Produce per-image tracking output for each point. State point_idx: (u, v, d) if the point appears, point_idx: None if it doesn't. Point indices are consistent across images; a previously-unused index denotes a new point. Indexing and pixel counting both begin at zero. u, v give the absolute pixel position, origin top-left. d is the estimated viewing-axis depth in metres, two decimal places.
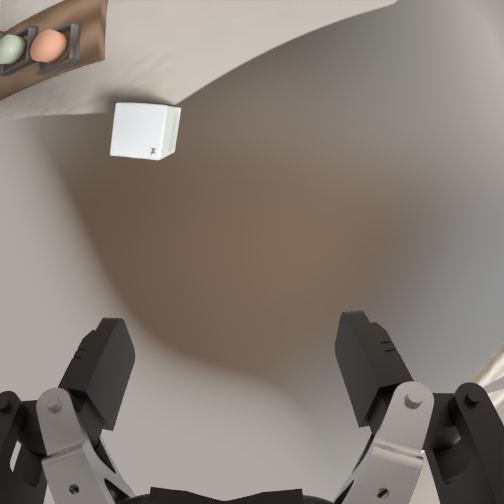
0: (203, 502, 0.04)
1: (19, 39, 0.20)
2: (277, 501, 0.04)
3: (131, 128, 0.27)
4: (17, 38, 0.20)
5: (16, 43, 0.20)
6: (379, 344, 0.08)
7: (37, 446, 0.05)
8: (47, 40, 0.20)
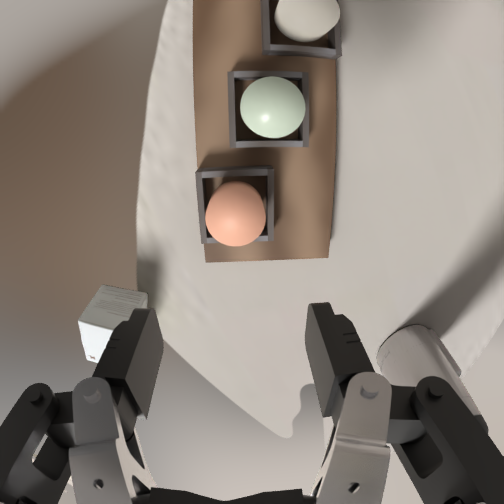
0: (203, 502, 0.04)
1: None
2: (276, 501, 0.04)
3: None
4: None
5: None
6: (341, 334, 0.08)
7: (69, 439, 0.06)
8: (240, 228, 0.22)
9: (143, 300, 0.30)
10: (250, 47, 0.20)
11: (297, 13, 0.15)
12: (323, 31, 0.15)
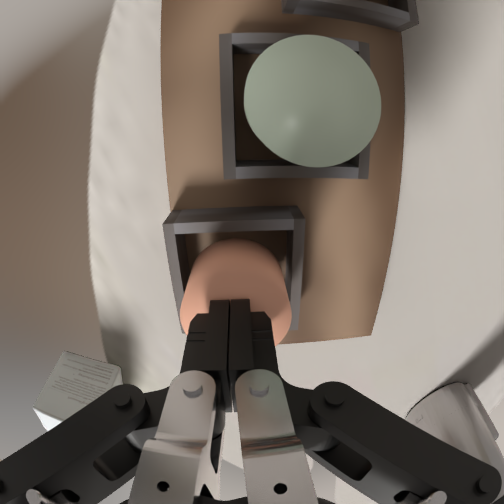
0: (203, 502, 0.04)
1: None
2: None
3: None
4: None
5: None
6: (249, 330, 0.09)
7: None
8: None
9: (114, 379, 0.20)
10: (261, 0, 0.10)
11: None
12: None
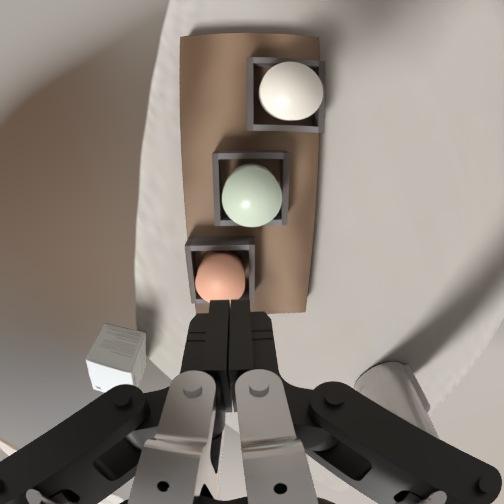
0: (203, 502, 0.04)
1: None
2: None
3: (111, 379, 0.29)
4: None
5: None
6: (249, 331, 0.09)
7: None
8: (224, 292, 0.26)
9: (142, 340, 0.34)
10: (235, 121, 0.23)
11: (279, 98, 0.18)
12: (304, 117, 0.19)
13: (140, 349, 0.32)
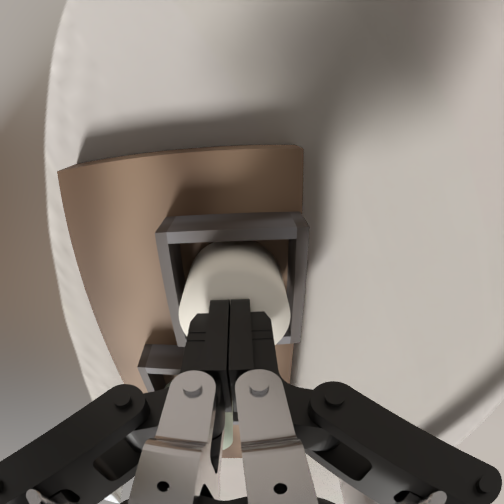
0: (203, 502, 0.04)
1: None
2: None
3: None
4: None
5: None
6: (249, 330, 0.09)
7: None
8: None
9: None
10: (165, 311, 0.16)
11: None
12: None
13: None
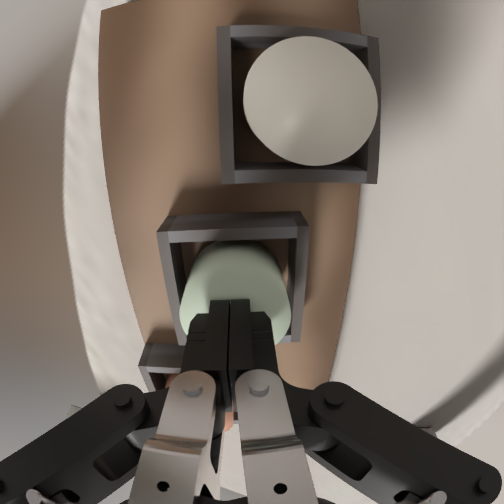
0: (203, 502, 0.04)
1: None
2: None
3: None
4: None
5: None
6: (249, 330, 0.09)
7: None
8: None
9: None
10: (202, 159, 0.12)
11: (285, 118, 0.08)
12: (339, 159, 0.09)
13: None
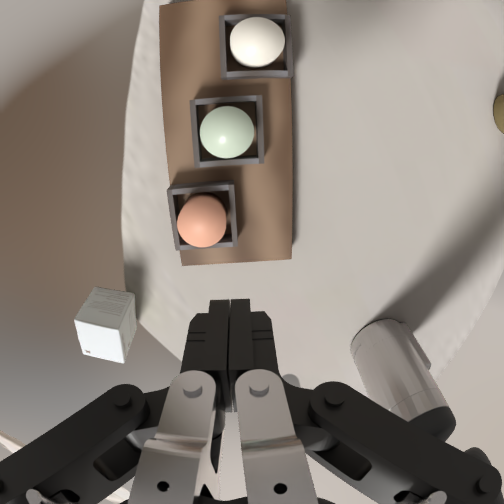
0: (203, 502, 0.04)
1: None
2: None
3: (99, 340, 0.30)
4: None
5: None
6: (249, 331, 0.09)
7: None
8: (205, 233, 0.26)
9: (130, 300, 0.34)
10: (211, 73, 0.23)
11: (246, 46, 0.19)
12: (269, 60, 0.20)
13: (128, 308, 0.33)
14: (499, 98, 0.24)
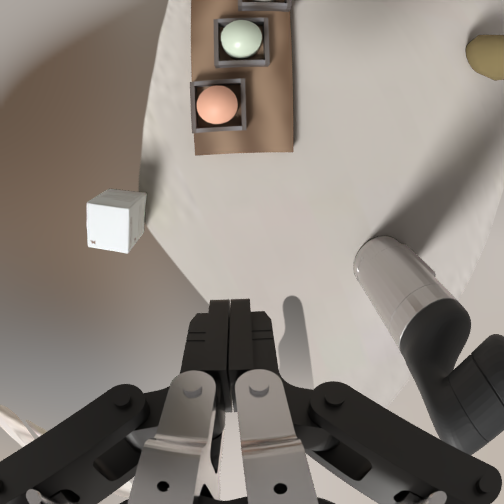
0: (203, 502, 0.04)
1: (249, 55, 0.27)
2: None
3: (108, 224, 0.32)
4: (249, 54, 0.27)
5: (242, 55, 0.26)
6: (249, 331, 0.09)
7: None
8: (220, 111, 0.29)
9: (142, 195, 0.36)
10: (230, 6, 0.25)
11: None
12: None
13: (140, 200, 0.35)
14: (469, 43, 0.26)
